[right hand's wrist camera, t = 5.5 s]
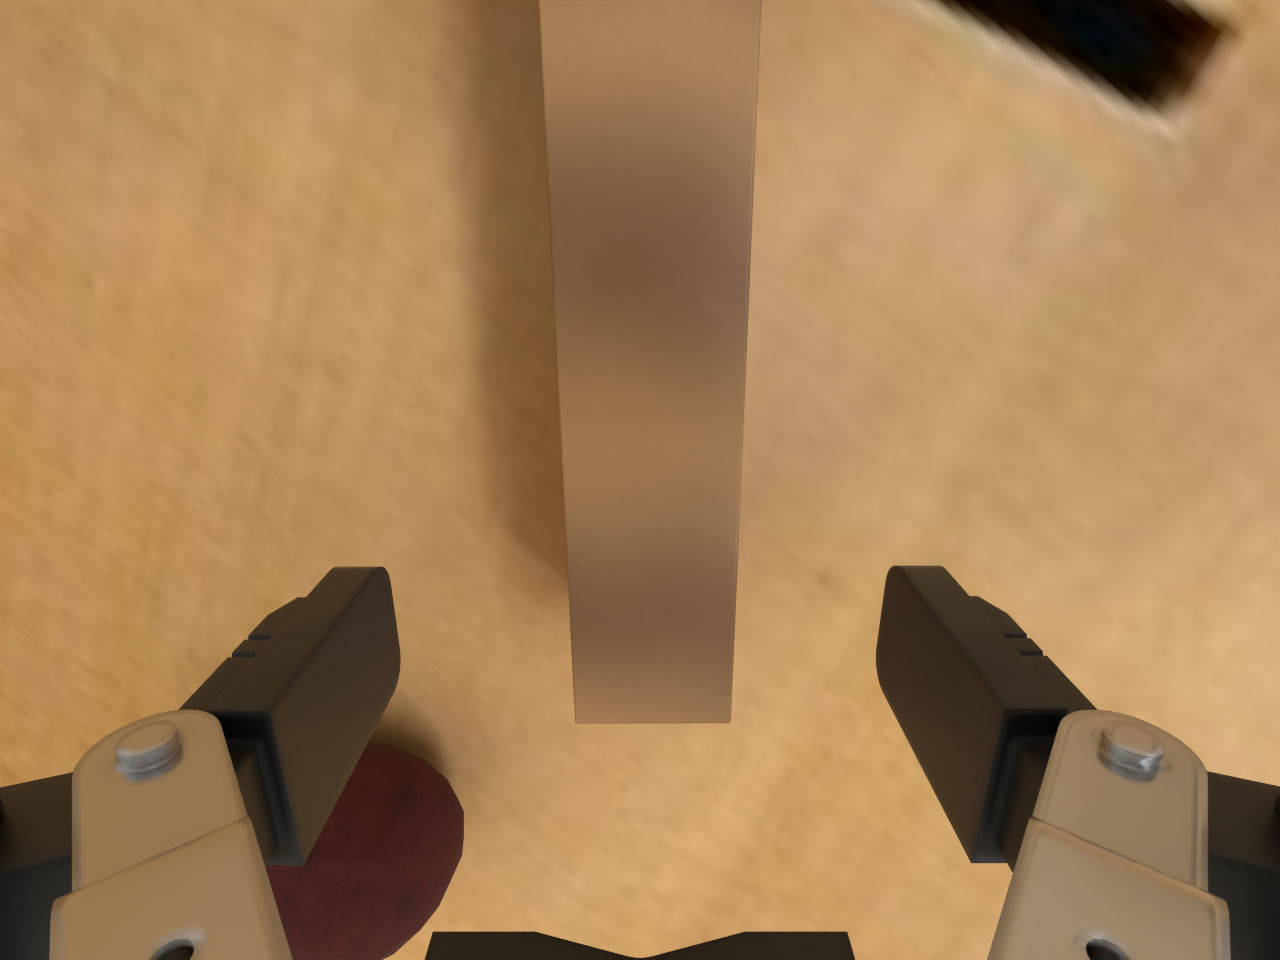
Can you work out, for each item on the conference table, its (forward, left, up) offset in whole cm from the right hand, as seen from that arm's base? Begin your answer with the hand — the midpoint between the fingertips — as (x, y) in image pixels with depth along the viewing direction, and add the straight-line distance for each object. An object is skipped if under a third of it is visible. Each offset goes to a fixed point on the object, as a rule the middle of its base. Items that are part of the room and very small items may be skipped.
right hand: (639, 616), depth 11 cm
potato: (-14, +10, -12) cm, 21 cm away
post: (+35, 0, -12) cm, 37 cm away
